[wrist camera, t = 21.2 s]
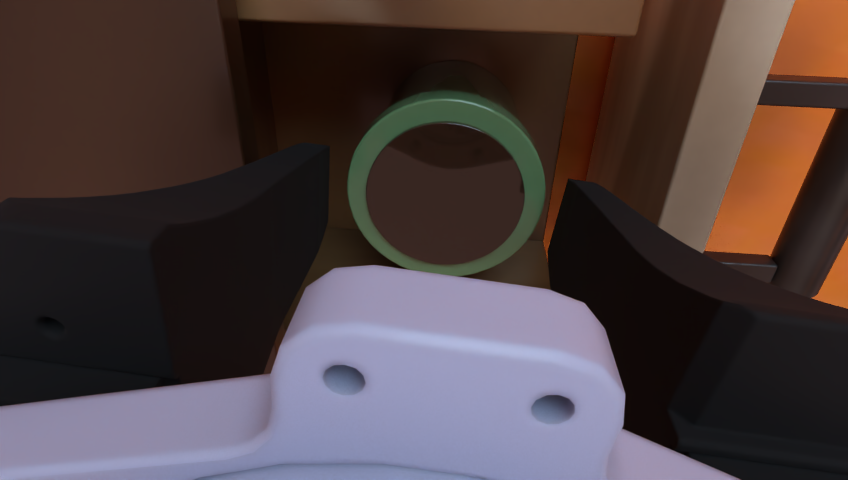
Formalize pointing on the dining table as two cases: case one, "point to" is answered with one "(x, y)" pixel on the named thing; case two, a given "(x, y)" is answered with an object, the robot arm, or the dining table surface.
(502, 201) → the green pot
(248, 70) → the drawer
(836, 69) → the dining table surface
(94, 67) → the cabinet
